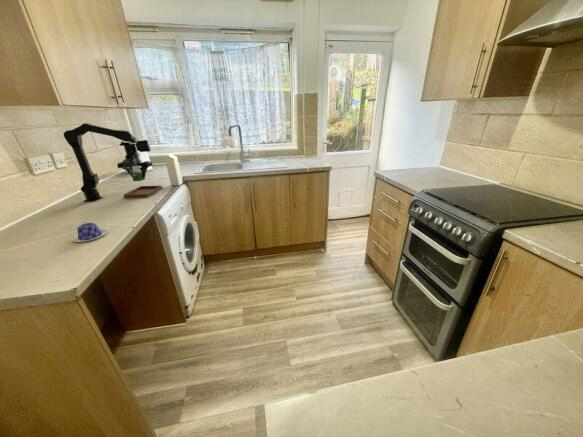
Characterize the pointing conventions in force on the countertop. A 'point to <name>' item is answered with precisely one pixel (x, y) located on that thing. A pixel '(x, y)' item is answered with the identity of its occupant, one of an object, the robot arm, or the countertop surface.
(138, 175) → the ring
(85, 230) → the checkered hat
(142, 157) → the plastic bottle
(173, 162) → the milk
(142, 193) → the tray
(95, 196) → the robot arm
